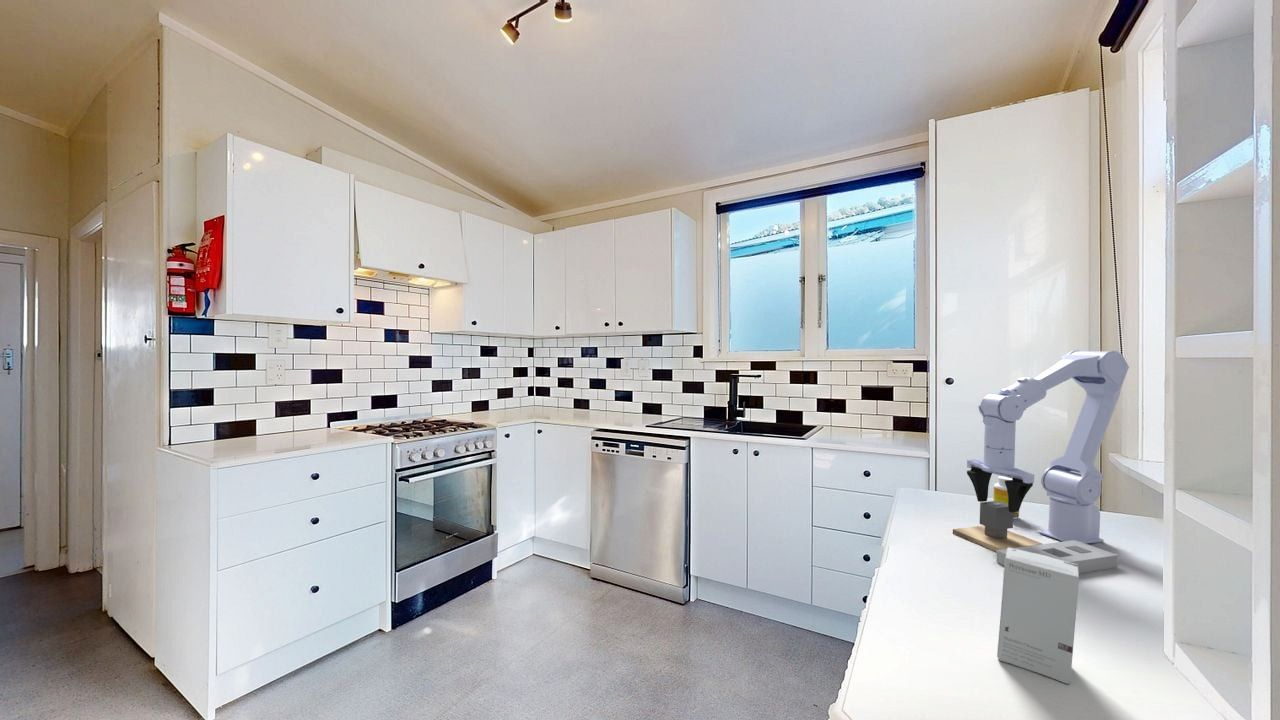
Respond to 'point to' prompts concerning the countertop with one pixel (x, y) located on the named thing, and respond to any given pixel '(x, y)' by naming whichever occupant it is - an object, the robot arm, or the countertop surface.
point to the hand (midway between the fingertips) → (997, 506)
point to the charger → (996, 519)
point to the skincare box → (1038, 613)
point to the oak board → (994, 544)
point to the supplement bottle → (1002, 493)
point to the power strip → (1071, 555)
